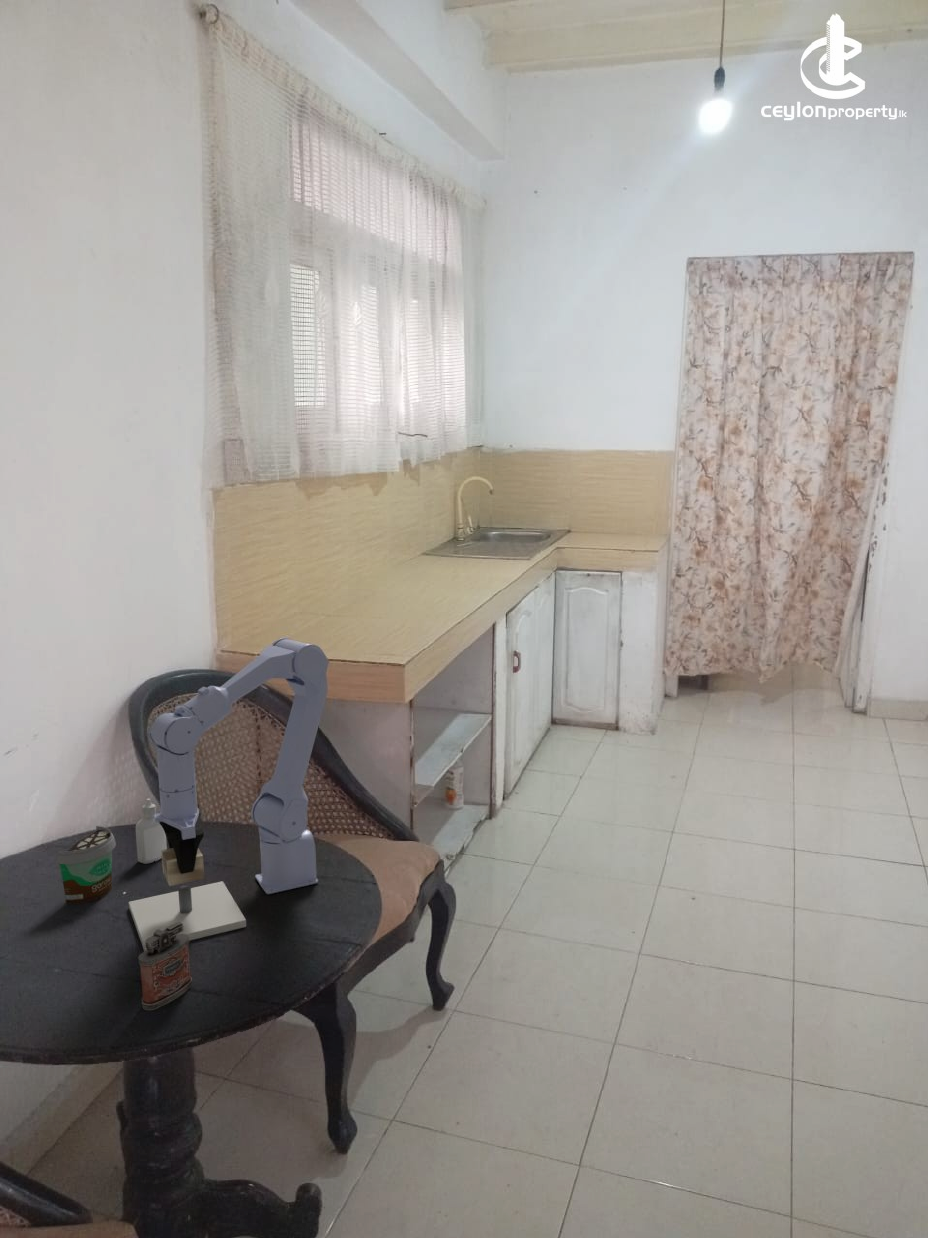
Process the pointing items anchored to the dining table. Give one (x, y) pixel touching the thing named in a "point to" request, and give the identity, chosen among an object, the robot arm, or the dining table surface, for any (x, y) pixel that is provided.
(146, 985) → the lighter
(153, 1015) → the dining table surface
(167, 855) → the maple sleeve
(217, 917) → the post board
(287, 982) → the dining table surface
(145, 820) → the eye dropper bottle
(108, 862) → the food container
